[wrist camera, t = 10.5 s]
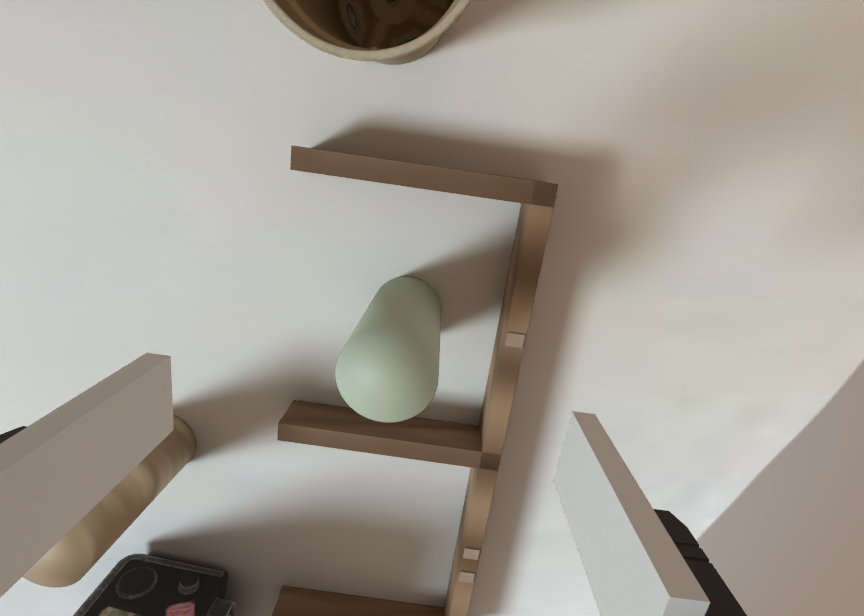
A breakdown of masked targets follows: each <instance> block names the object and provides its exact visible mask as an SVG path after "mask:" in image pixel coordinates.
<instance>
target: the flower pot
mask: <svg viewBox="0 0 864 616" xmlns="http://www.w3.org/2000/svg"><path fill="white" fill-rule="evenodd" d="M263 1H264V2H265V4H266V5H267V6H268V8H269V9H270V11H271V12H272V13H273V14H274V15H275V16H276V17H277V18H278V19H279V21H280V22H281V23H283V24H284V25H285V26H286V27H287V28H288V29H289V30H290V31H292V32H293V33H294V34H295V35H297V36H298V37H299V38H301V39H302V40H304V41H305V42H307V43H308V44H310V45H312V46H314V47H316V48H317V49H319V50H321V51H323V52H326V53H329V54H332V55H335V56H338V57H341V58H346V59H352V60H359V61H375V62H379V63H382V64H388V65H398V64H405V63H409V62H412V61H414V60H416V59H418V58H420V57H421V56H423V55H424V54H426V53H427V52H428V51H429V50H431V49H432V48H433V47H434V46H435V44H436V43H437V42H438V40H439V39H440V37H441V36H442V34H443V33H444V32H445V31H446V30H447V29H448V28H450V27H451V25H452V24H453V23H454V22H455V21H456V20H457V19H458V18H459V17H460V15H461V14H462V13H463V12H464V10H465V9H466V8H467V6H468V5H469V3H470V2H471V0H395V1H393V2H391V1H390V0H263ZM349 5H351V7H352V10H353V13H354V14H355V15H357V17H356V21H357V27H356V28H353V25H352V23H351V21H350V18H349V15H348V6H349ZM406 42H408V43H406ZM404 43H405V44H404ZM401 44H402V45H401Z"/></svg>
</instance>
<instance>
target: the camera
mask: <svg viewBox="0 0 864 616" xmlns="http://www.w3.org/2000/svg"><path fill="white" fill-rule="evenodd" d="M227 578H228V572H226V571H224V572H223V571H218V570H214V569H209V568H205V567H200V566H196V565H191V564H187V563H182V562H177V561H173V560H168V559H164V558H159V557H155V556H150V555H146V554H133V555H129V556H127V557H125V558H123V559H122V560H120V561H119V562H118V563H117V565H116V566H115V567H114V568H113V569H112V570H111V572H110V573H109V574H108V575H107V576H106V578H105V579H104V580H103V581H102V582H101V583H100V585H99V586H98V587H97V588H96V589H95V590H94V592H93V593H92V594H91V595H90V596H89V597H88V599H87V600H86V601H85V602H84V603H83V604H82V606H81V607H80V608H79V609H78V610H77V612H76V613H75V614H74V615H73V616H235V601H231V600H226V599H225V592H226V585H227Z"/></svg>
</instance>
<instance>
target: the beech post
mask: <svg viewBox="0 0 864 616" xmlns="http://www.w3.org/2000/svg"><path fill="white" fill-rule="evenodd" d="M173 429H174V430H173V431H172V432H171V433H170V434H169V435H168V436H167V437H166V438H165V439H164V440H163V441H162V442H161V443H160V444H159V445H158V446H156V447H155V448H154V449H153V450H152V451H151V452H150V453H149V454H148V455H147V456H146V457H145V458H144V459H143V460H142V461H141V462H140V463H139V464H138V465H137V466H136V467H135V468H134V469H133V470H132V471H131V472H130V473H129V474H128V475H127V476H125V477H124V478H123V479H122V480H121V481H120V482H119V483H118V484H117V485H116V486H115V487H114V488H113V489H112V490H111V491H110V492H109V493H108V494H107V495H106V496H105V497H104V498H103V499H102V500H101V501H100V502H99V503H98V504H97V505H96V506H94V507H93V508H92V509H91V510H90V511H89V512H88V513H87V514H86V515H85V516H84V517H83V518H82V519H81V520H80V521H79V522H78V523H77V524H76V525H75V526H74V527H73V528H72V529H71V530H70V531H69V532H68V533H67V534H66V535H65V536H63V537H62V538H61V539H60V540H59V541H58V542H57V543H56V544H55V545H54V546H53V547H52V548H51V549H50V550H49V551H48V552H47V553H46V554H45V555H44V556H43V557H42V558H41V559H40V560H39V561H38V562H37V563H36V564H35V565H34V566H32V567H31V568H30V569H29V570H28V571H27V572H26V573H25V574H24V575H23V576H22V577H24V578H25V579H27V580H29V581H31V582H33V583H36V584H38V585H42V586H47V587H65V586H69V585H72V584H74V583H76V582H78V581H79V580H80V579H81V578H82V577H83V576H84V575H85V574H86V573H87V572H88V571H89V570H90V569H91V567H92V566H93V565H94V564H95V563H96V562H97V561H98V560H99V559H100V558H101V557H102V555H103V554H104V553H105V552H106V551H107V550H108V549H109V548H110V547H111V546H112V545H113V543H114V542H115V541H116V540H117V539H118V538H119V537H120V536H121V535H122V534H123V532H124V531H125V530H126V529H127V528H128V527H129V526H130V525H131V524H132V523H133V522H134V520H135V519H136V518H137V517H138V516H139V515H140V514H141V513H142V512H143V511H144V510H145V508H146V507H147V506H148V505H149V504H150V503H151V502H152V501H153V500H154V499H155V498H156V496H157V495H158V494H159V493H160V492H161V491H162V490H163V489H164V488H165V487H166V486H167V484H168V483H169V482H170V481H171V480H172V479H173V478H174V477H175V476H176V475H177V473H178V472H179V471H180V470H181V469H182V468H183V467H184V466H185V465H186V464H187V463H188V461H189V460H190V459H191V458H192V457H193V455H194V453H195V451H196V438H195V435H194V433H193V431H192V429H191V428H190V427H189V425H188V424H187V423H186V422H184V421H183V420H182V419H180V418H179V417H177V416H175V415H173Z"/></svg>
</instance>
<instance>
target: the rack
mask: <svg viewBox="0 0 864 616" xmlns="http://www.w3.org/2000/svg"><path fill="white" fill-rule="evenodd" d="M291 170H297V171H304V172H311V173H318V174H325V175H332V176H339V177H346V178H353V179H359V180H366V181H373V182H380V183H387V184H394V185H401V186H408V187H415V188H422V189H428V190H435V191H442V192H449V193H456V194H463V195H470V196H477V197H484V198H490V199H497V200H504V201H511V202H518V203H521V208H520V214H519V219H518V224H517V229H516V235H515V240H514V245H513V250H512V256H511V261H510V266H509V271H508V276H507V282H506V287H505V292H504V297H503V303H502V308H501V313H500V318H499V324H498V329H497V334H496V339H495V345H494V350H493V355H492V360H491V366H490V371H489V376H488V381H487V386H486V392H485V397H484V402H483V407H482V413H481V418H480V423H479V426H473V425H466V424H459V423H452V422H444V421H437V420H430V419H423V418H416V417H412V418H409V419H407V420H403V421H399V422H379V421H374V420H371V419H368V418H366V417H364V416H362V415H360V414H359V413H357V412H356V411H354V410H353V409H352V408H345V407H338V406H331V405H324V404H317V403H310V402H303V401H296V400H294V401H293V403H292V404H291V406H290V407H289V409H288V410H287V411H286V413H285V414H284V416H283V417H282V419H281V420H280V422H279V423H278V440H281V441H288V442H295V443H302V444H309V445H316V446H324V447H331V448H338V449H345V450H352V451H359V452H366V453H373V454H381V455H388V456H395V457H402V458H409V459H416V460H423V461H430V462H437V463H445V464H452V465H459V466H466V467H471V470H470V475H469V481H468V486H467V491H466V496H465V502H464V507H463V512H462V517H461V523H460V528H459V533H458V538H457V544H456V549H455V554H454V559H453V565H452V570H451V575H450V580H449V585H448V591H447V596H446V601H445V606H444V608H439V607H431V606H424V605H417V604H410V603H402V602H395V601H388V600H381V599H373V598H366V597H359V596H352V595H344V594H337V593H330V592H323V591H315V590H308V589H301V588H294V587H287V586H283V588H282V591H281V593H280V596H279V598H278V601H277V603H276V606H275V608H274V611H273V613H272V616H467V614H468V610H469V605H470V600H471V595H472V591H473V586H474V581H475V576H476V572H477V567H478V562H479V557H480V553H481V548H482V543H483V539H484V534H485V529H486V524H487V520H488V515H489V510H490V505H491V501H492V496H493V491H494V486H495V482H496V477H497V472H498V467H499V463H500V458H501V453H502V449H503V444H504V439H505V434H506V430H507V425H508V420H509V415H510V411H511V406H512V401H513V396H514V392H515V387H516V382H517V377H518V373H519V368H520V363H521V359H522V354H523V349H524V344H525V340H526V335H527V330H528V325H529V321H530V316H531V311H532V306H533V302H534V297H535V292H536V287H537V283H538V278H539V273H540V269H541V264H542V259H543V254H544V250H545V245H546V240H547V235H548V231H549V226H550V221H551V216H552V212H553V207H554V202H555V197H556V193H557V188H558V184H553V183H546V182H539V181H532V180H525V179H518V178H512V177H505V176H498V175H491V174H484V173H477V172H470V171H463V170H457V169H450V168H443V167H436V166H429V165H422V164H415V163H408V162H402V161H395V160H388V159H381V158H374V157H367V156H360V155H353V154H347V153H340V152H333V151H326V150H319V149H312V148H305V147H298V146H292V148H291Z"/></svg>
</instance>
